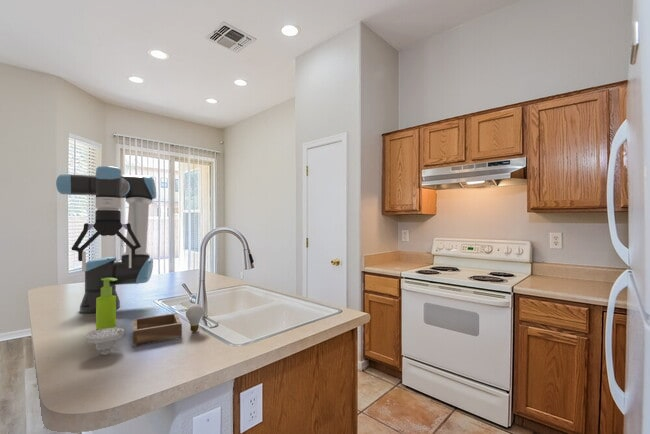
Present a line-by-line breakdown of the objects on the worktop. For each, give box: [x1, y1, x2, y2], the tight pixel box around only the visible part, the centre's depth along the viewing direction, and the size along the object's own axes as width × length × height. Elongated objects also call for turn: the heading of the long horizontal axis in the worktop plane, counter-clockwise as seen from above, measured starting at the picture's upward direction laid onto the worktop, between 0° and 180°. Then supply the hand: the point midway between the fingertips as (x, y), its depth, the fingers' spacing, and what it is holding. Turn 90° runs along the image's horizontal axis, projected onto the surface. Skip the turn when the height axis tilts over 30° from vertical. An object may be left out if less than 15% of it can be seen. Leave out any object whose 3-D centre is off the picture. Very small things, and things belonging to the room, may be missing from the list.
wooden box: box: [132, 312, 183, 348], centre depth 111 cm, size 14×14×5 cm
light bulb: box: [185, 303, 204, 333], centre depth 114 cm, size 6×6×10 cm
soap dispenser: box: [95, 278, 118, 331], centre depth 112 cm, size 6×7×20 cm
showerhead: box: [86, 327, 125, 356], centre depth 96 cm, size 9×7×10 cm
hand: (107, 269), depth 112 cm, fingers open, 13 cm apart
